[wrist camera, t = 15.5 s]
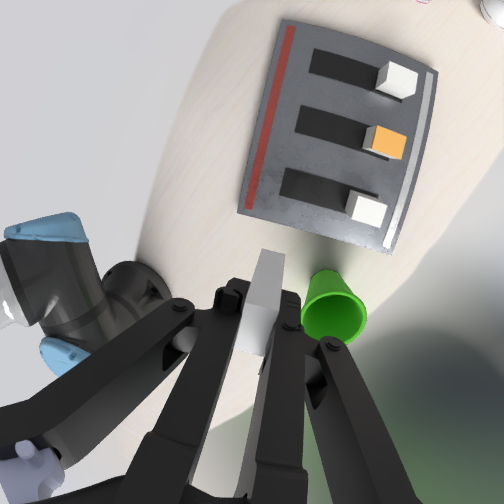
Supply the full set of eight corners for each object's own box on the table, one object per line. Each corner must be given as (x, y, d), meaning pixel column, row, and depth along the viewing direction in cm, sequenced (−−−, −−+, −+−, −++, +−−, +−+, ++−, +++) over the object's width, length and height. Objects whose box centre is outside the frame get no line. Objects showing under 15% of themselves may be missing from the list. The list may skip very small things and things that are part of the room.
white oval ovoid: (470, -4, 20) (488, -17, 13) (498, 13, 19) (517, 4, 12) (477, 33, 24) (498, 23, 17) (505, 51, 23) (527, 44, 16)
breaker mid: (362, 148, 34) (371, 148, 29) (367, 127, 33) (377, 125, 28) (388, 157, 34) (401, 159, 29) (393, 137, 33) (406, 136, 28)
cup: (293, 263, 44) (291, 298, 34) (349, 252, 42) (365, 284, 32) (303, 311, 47) (303, 353, 37) (355, 301, 45) (368, 341, 35)
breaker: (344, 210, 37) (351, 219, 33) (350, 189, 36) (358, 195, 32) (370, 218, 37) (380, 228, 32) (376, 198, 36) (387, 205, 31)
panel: (239, 210, 42) (236, 213, 40) (283, 24, 31) (282, 18, 29) (387, 250, 41) (391, 256, 39) (432, 74, 30) (439, 71, 27)
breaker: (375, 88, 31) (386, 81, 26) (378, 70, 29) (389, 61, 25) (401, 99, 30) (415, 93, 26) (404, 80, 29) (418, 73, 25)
